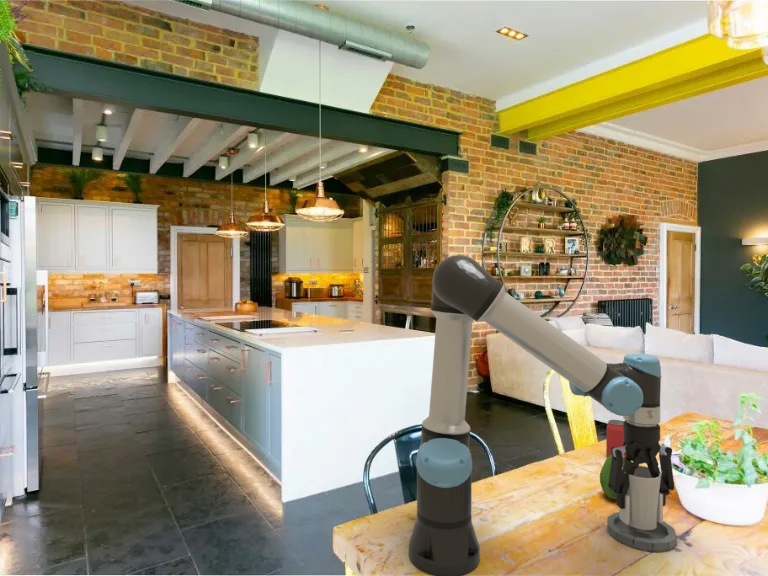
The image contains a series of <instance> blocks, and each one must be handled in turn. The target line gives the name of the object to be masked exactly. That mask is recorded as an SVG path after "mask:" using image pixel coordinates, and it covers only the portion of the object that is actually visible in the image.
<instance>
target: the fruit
mask: <svg viewBox="0 0 768 576" xmlns="http://www.w3.org/2000/svg"><path fill="white" fill-rule="evenodd" d="M611 461H612V455H610V456H608V457H607V456H606V459H605V461H604V463H603V465H602V467H601V469H600V473H599V483H600V487H601V489H602V491H603V493H604V495H606V496H607V497H608V498H609V499H611V500H614V501H616V500H617V494H616V493H614V492H613V491H612V490H610V489H609V488H608V483H609V476H610V468H611ZM624 464H625V462H624V459H623V466H622V468H623V467H624Z"/></svg>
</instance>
